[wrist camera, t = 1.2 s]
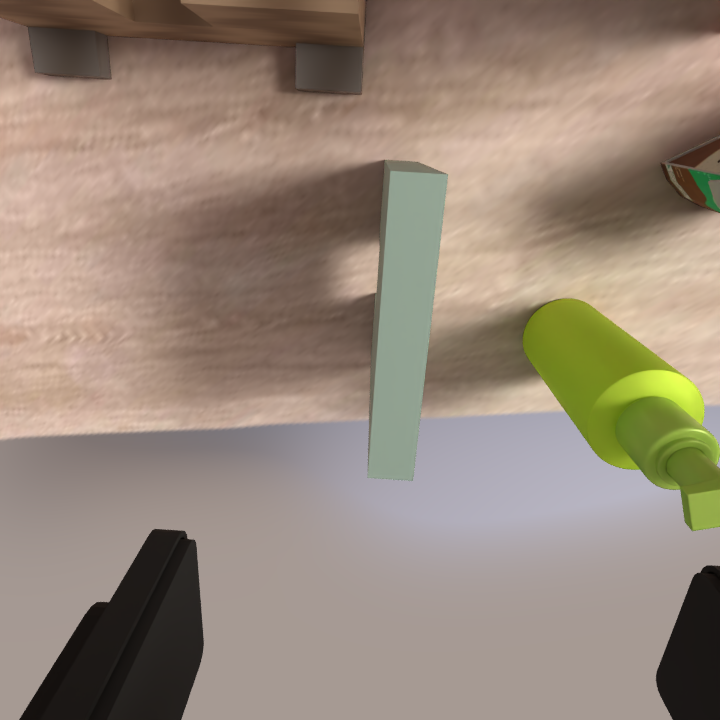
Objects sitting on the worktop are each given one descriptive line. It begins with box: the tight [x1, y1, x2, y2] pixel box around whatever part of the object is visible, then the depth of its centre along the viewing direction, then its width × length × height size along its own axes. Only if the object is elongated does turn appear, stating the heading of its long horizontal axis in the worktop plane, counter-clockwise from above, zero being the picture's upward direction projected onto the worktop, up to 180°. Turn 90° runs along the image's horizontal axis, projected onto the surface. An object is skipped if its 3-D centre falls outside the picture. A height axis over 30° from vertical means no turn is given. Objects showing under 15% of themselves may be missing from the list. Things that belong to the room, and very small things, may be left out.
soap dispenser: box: [523, 299, 720, 531], centre depth 30 cm, size 6×7×20 cm
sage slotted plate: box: [368, 160, 448, 481], centre depth 30 cm, size 2×14×16 cm, turn 176°
